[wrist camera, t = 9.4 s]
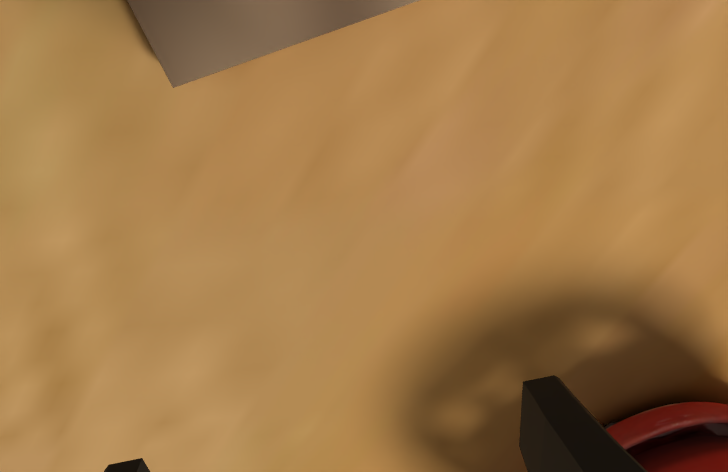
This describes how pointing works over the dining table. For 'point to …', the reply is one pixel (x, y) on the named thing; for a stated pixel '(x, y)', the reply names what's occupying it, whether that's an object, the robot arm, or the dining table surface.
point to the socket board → (240, 29)
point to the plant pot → (677, 437)
